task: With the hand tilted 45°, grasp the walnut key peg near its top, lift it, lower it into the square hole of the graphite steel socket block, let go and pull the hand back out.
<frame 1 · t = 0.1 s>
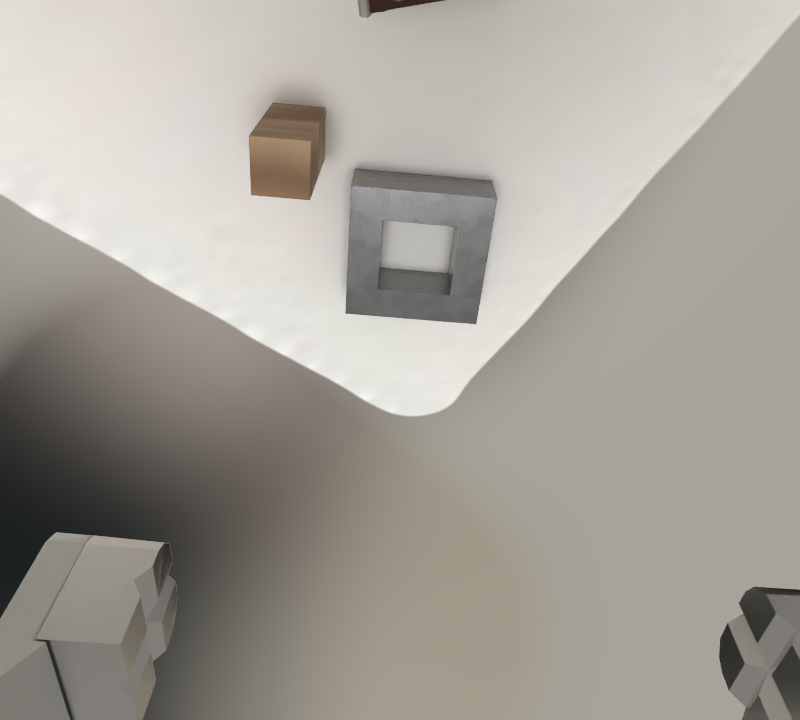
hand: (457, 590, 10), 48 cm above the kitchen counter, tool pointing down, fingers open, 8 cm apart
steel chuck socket: (417, 238, 58), on the kitchen counter
walnut key peg: (299, 131, 54), on the kitchen counter
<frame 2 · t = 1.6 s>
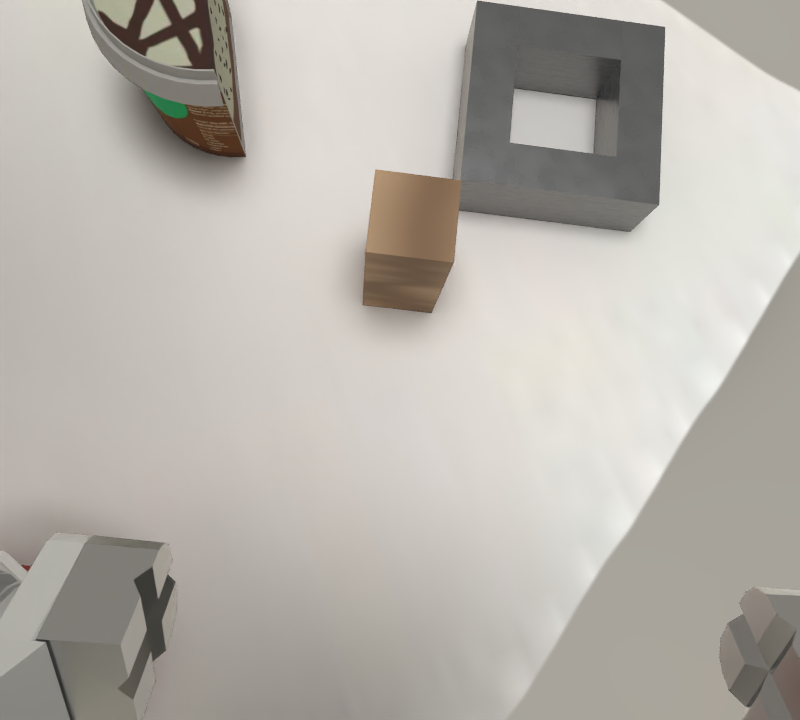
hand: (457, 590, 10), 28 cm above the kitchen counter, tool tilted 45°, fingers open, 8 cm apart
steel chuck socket: (546, 136, 43), on the kitchen counter
walnut key peg: (400, 275, 40), on the kitchen counter
food container: (187, 91, 42), on the kitchen counter
plastic cup: (51, 626, 36), on the kitchen counter
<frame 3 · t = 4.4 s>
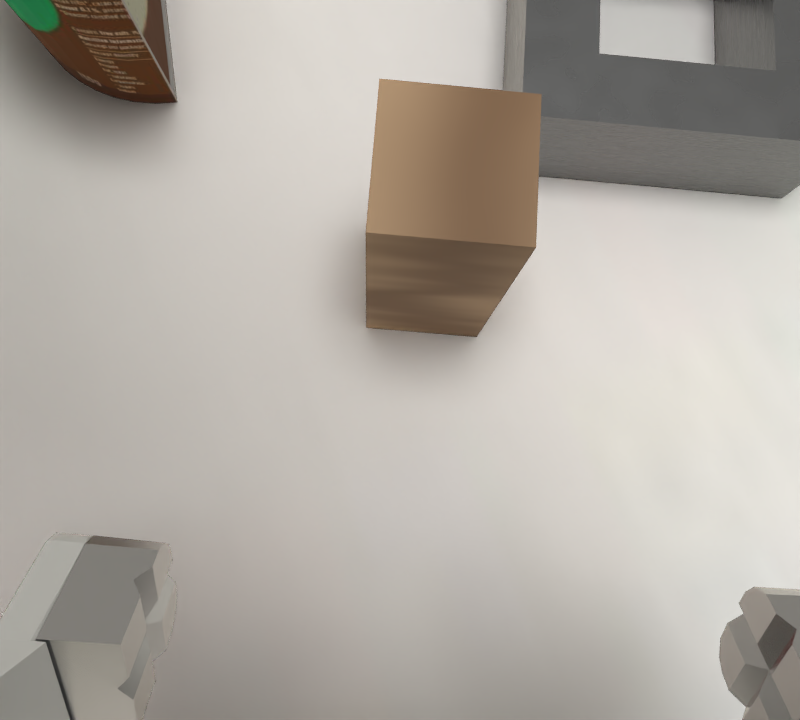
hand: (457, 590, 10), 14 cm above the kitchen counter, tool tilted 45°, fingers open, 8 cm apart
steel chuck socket: (641, 57, 28), on the kitchen counter
walnut key peg: (425, 279, 25), on the kitchen counter
food container: (87, 7, 27), on the kitchen counter
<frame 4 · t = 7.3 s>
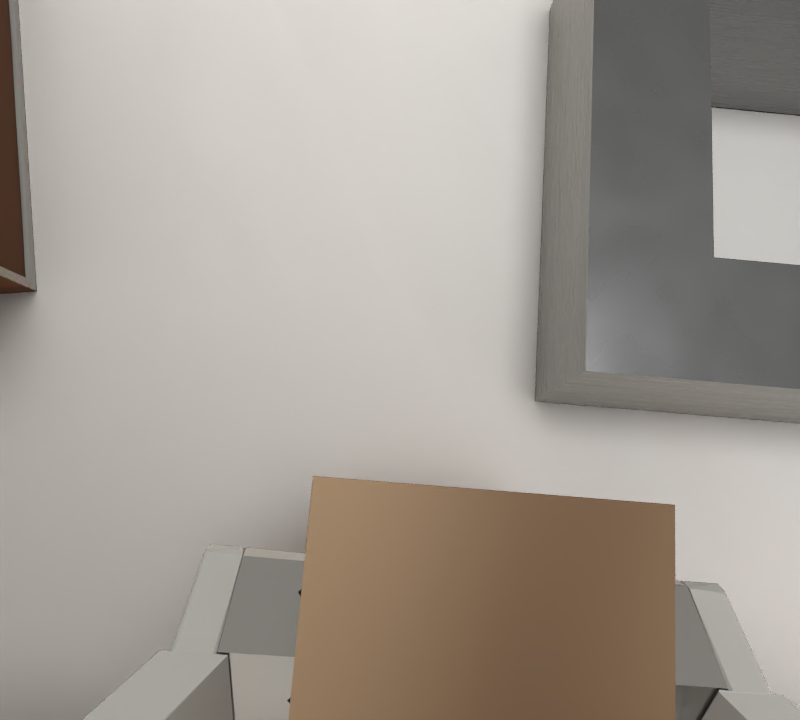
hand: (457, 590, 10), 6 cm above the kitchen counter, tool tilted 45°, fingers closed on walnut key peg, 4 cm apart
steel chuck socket: (749, 212, 18), on the kitchen counter
walnut key peg: (420, 584, 16), on the kitchen counter, touching gripper
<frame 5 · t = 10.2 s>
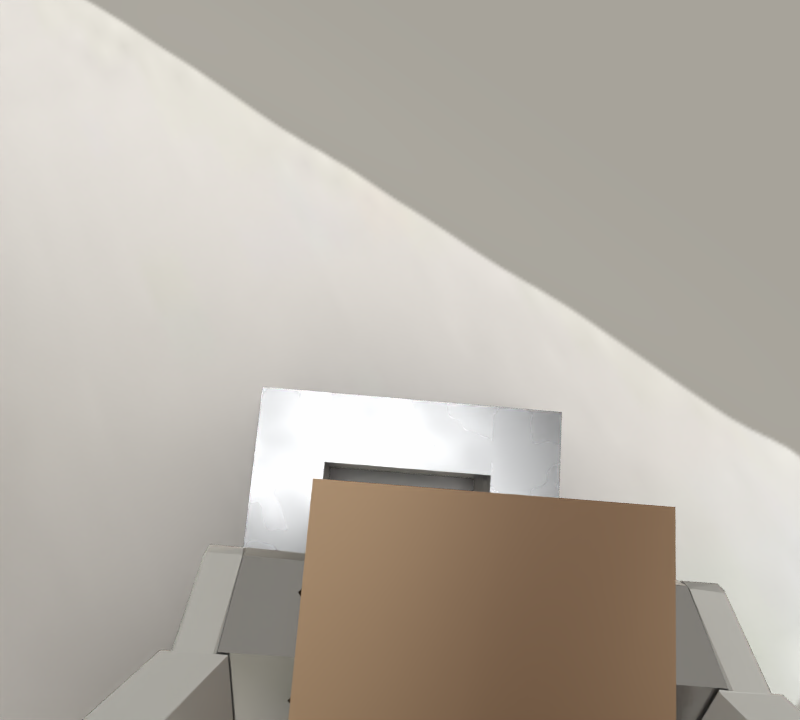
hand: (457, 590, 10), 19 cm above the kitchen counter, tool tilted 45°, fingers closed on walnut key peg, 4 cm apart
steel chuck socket: (396, 547, 28), on the kitchen counter
walnut key peg: (420, 585, 16), point 12 cm above the kitchen counter, touching gripper
when the fingers open (7 cm above the kitchen counter, at t = 13.0 s): walnut key peg stays where it is, resting in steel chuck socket.
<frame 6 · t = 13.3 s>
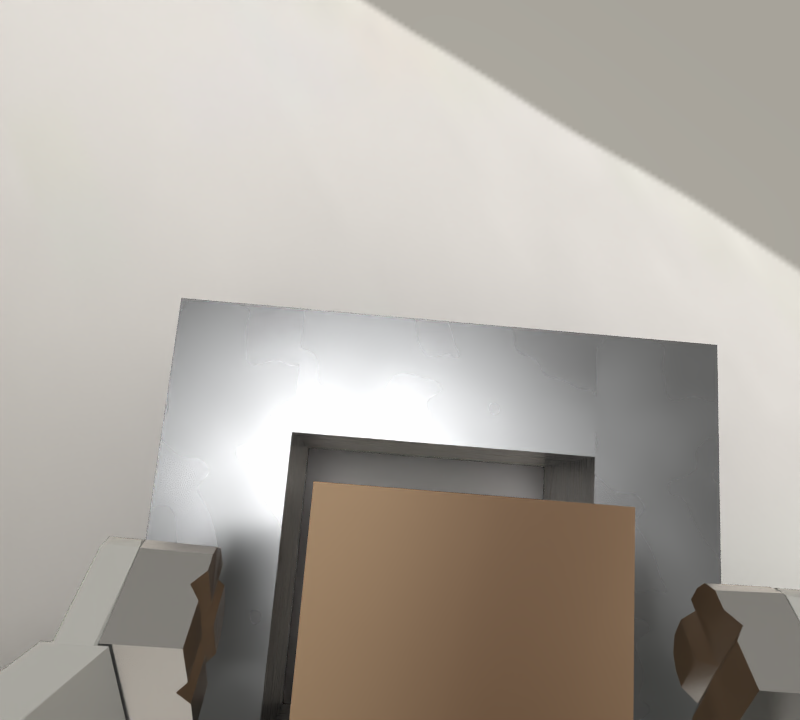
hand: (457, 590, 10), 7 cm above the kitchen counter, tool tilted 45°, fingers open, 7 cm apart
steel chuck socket: (418, 580, 17), on the kitchen counter
walnut key peg: (414, 580, 17), resting in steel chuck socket
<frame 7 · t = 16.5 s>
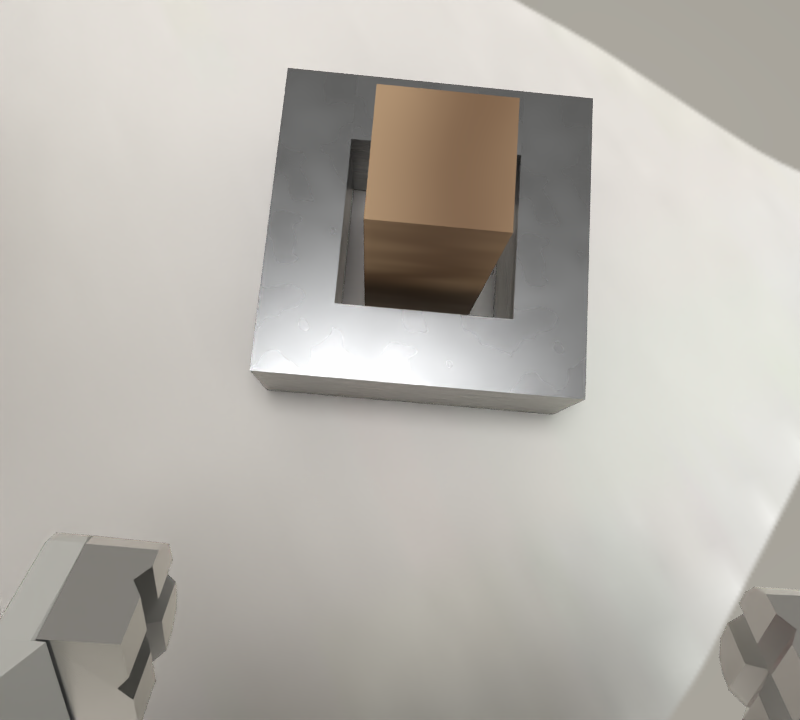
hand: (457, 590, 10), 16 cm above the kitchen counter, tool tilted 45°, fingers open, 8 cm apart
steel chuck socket: (421, 265, 28), on the kitchen counter
walnut key peg: (419, 266, 28), resting in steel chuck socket
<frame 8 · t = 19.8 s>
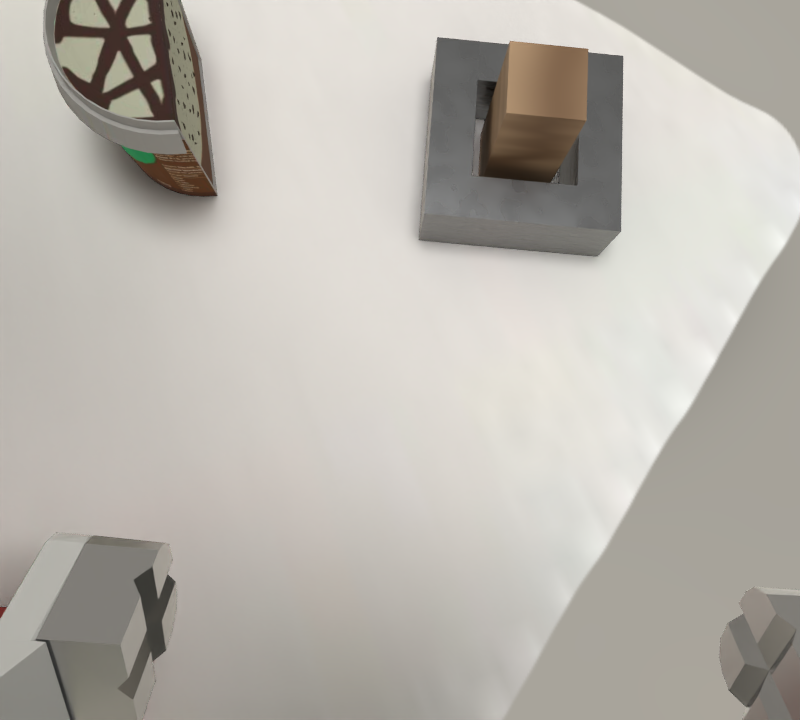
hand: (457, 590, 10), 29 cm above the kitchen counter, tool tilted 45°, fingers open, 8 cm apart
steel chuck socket: (512, 165, 43), on the kitchen counter
walnut key peg: (510, 165, 43), resting in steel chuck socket
food container: (159, 133, 43), on the kitchen counter
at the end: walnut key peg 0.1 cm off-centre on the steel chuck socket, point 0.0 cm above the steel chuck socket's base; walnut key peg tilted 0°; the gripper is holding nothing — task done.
